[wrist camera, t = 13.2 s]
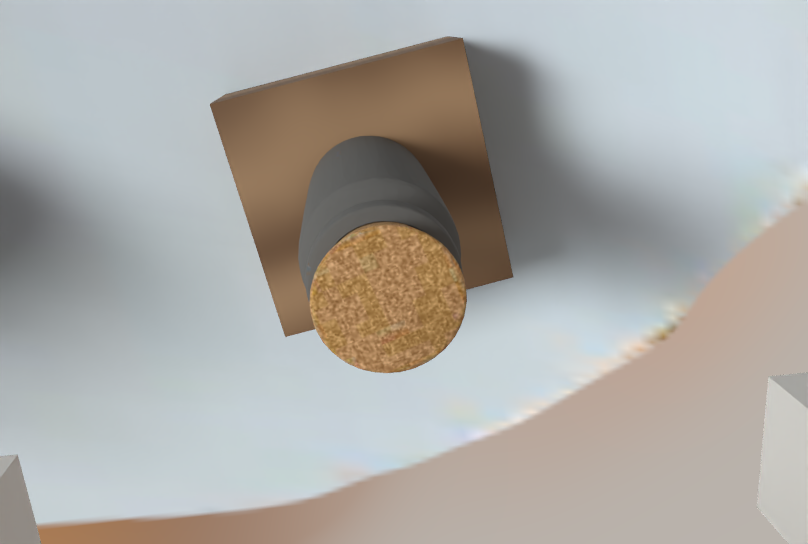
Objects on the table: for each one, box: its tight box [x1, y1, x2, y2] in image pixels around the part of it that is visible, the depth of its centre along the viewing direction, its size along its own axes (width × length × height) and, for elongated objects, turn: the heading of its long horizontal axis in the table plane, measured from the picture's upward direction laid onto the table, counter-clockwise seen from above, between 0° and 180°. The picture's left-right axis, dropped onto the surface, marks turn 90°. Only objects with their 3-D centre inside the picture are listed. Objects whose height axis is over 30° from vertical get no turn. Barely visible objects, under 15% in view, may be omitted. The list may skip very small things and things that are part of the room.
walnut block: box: [210, 37, 513, 337], centre depth 39 cm, size 12×12×5 cm
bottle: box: [298, 136, 467, 373], centre depth 30 cm, size 6×6×15 cm
